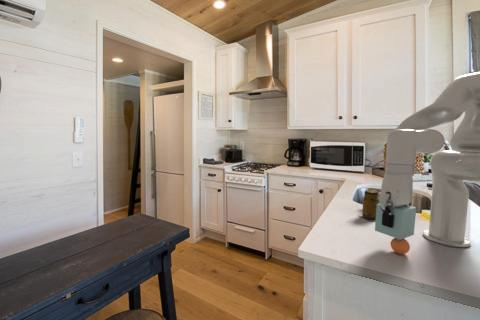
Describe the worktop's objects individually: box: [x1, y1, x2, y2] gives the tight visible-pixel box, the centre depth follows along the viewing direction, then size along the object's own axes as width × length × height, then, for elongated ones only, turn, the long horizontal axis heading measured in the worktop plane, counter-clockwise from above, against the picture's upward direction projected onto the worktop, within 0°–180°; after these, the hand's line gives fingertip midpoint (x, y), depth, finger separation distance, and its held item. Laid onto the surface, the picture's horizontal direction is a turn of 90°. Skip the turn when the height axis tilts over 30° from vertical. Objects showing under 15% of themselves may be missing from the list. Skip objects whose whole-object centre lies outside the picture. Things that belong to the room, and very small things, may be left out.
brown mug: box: [357, 189, 379, 223], centre depth 104 cm, size 7×8×12 cm
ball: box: [390, 237, 411, 255], centre depth 73 cm, size 5×5×5 cm
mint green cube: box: [374, 203, 417, 240], centre depth 74 cm, size 8×8×9 cm
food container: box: [367, 188, 381, 204], centre depth 113 cm, size 12×6×10 cm, turn 168°
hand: (394, 223), depth 74 cm, fingers closed on mint green cube, 7 cm apart
